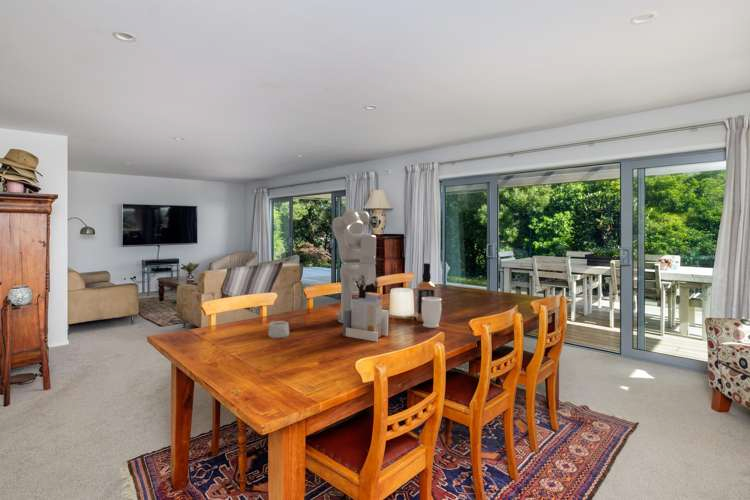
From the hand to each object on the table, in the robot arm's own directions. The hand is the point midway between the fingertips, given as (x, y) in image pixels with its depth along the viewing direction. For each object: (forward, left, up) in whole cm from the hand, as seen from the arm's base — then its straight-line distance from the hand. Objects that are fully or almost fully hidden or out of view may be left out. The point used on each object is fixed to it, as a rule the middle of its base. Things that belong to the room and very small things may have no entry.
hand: (367, 296), depth 192 cm
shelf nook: (-1, 0, -19) cm, 19 cm away
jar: (+20, +34, -19) cm, 44 cm away
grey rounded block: (-35, -22, -19) cm, 45 cm away
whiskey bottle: (+12, +47, -19) cm, 53 cm away
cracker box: (0, 0, -19) cm, 19 cm away
